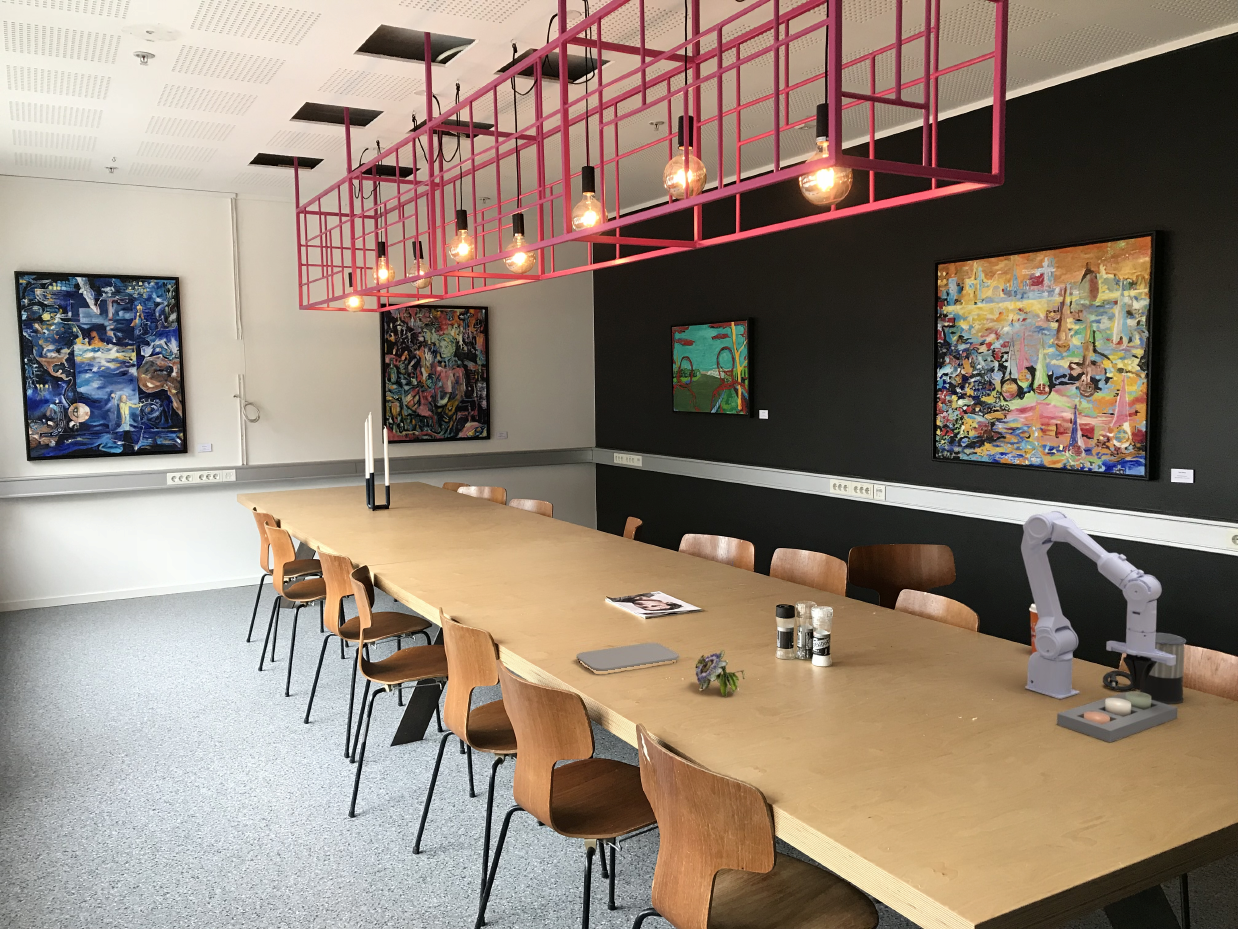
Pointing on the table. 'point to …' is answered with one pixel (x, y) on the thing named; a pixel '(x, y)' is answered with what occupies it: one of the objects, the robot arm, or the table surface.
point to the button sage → (1139, 699)
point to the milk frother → (1159, 673)
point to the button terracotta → (1097, 717)
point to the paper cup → (1033, 626)
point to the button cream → (1118, 706)
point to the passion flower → (716, 673)
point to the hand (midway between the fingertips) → (1139, 688)
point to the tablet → (627, 656)
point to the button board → (1116, 719)
